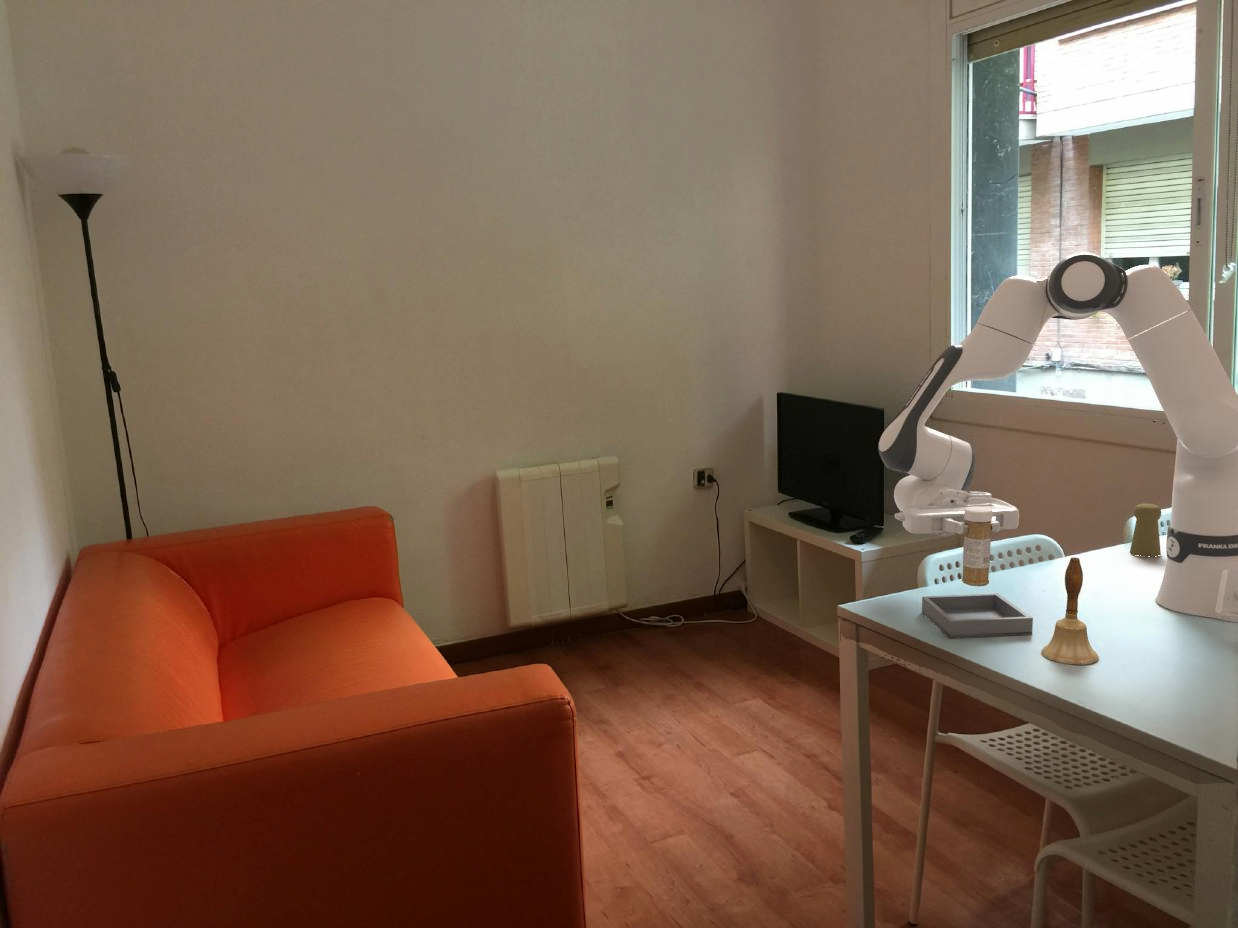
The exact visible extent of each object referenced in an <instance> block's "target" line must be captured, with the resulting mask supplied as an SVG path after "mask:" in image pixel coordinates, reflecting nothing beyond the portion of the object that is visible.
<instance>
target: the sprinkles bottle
mask: <svg viewBox="0 0 1238 928" xmlns="http://www.w3.org/2000/svg"><path fill="white" fill-rule="evenodd" d="M964 519H965V523H966V524H968V526H969V528H968V534H963V535H964V536H963V551H962V554H963V555H962V565H963V566H962V578H961V581H962V583H963V584H965V585H966V586H971V587H984V586H985V587H986V586H988V585H989V584H990V579H989V577H990V576H989V575H990V572H989V571H990V563H991V562H990V561H991V544H992V543H991V542H992V540H991V539H992V537H991V533H992V532H991V522H992V521H991V520H992V510H991V509H990V508H987V507H980V506H972V507H967V508H965V510H964Z"/></svg>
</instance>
